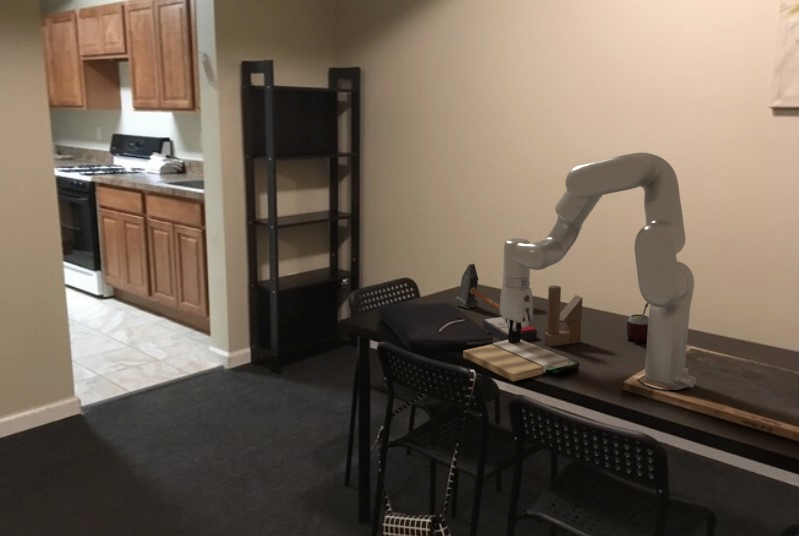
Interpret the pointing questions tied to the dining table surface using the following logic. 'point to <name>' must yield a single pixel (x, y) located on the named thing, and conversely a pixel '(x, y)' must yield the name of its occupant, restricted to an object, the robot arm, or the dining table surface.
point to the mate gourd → (638, 327)
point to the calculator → (502, 332)
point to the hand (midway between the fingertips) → (514, 342)
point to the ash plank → (532, 353)
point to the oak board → (502, 362)
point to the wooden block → (563, 319)
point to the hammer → (471, 290)
